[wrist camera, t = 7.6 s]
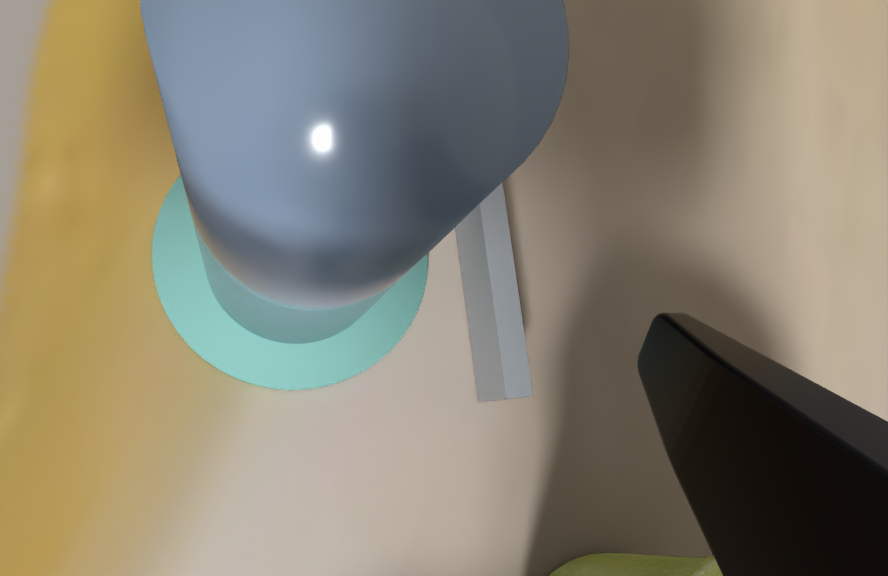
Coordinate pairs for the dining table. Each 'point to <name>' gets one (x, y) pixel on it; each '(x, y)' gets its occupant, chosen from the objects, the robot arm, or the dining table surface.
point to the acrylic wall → (493, 302)
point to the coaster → (250, 353)
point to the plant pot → (638, 566)
